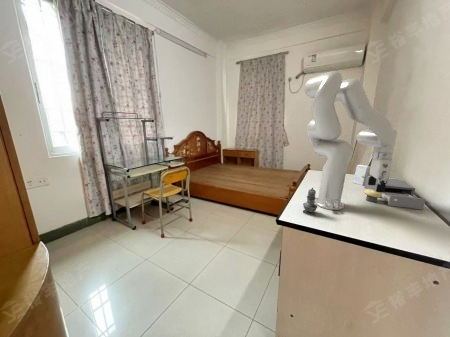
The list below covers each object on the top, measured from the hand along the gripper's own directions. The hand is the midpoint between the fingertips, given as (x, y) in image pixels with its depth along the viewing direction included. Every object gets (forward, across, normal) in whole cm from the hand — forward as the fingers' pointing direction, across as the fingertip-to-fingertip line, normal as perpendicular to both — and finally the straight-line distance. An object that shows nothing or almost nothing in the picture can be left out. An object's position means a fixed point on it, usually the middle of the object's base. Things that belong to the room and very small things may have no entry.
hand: (375, 188), depth 94 cm
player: (+7, +13, -11) cm, 19 cm away
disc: (+3, 0, +1) cm, 3 cm away
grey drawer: (+7, +3, -11) cm, 13 cm away
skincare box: (+8, +28, -3) cm, 30 cm away
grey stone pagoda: (+5, -25, +33) cm, 42 cm away
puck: (+7, -1, +1) cm, 7 cm away
